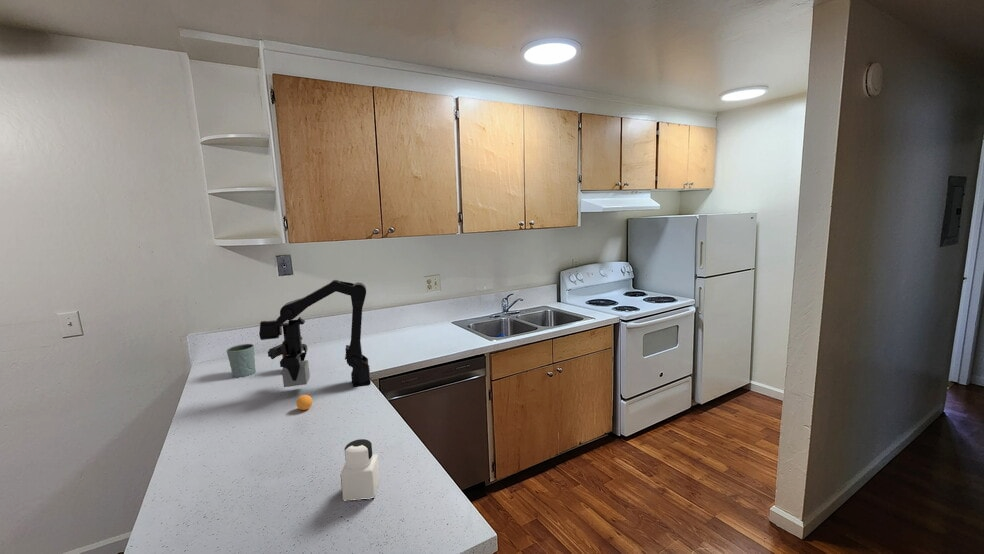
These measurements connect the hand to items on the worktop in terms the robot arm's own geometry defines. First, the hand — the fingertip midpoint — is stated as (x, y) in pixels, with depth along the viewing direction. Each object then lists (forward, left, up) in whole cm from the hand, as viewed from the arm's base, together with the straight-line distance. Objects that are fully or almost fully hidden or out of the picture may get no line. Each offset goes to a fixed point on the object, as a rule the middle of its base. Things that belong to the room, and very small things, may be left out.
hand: (296, 376), depth 158 cm
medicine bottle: (-26, +69, -6) cm, 74 cm away
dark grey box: (0, 0, -2) cm, 2 cm away
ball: (-5, +17, -4) cm, 18 cm away
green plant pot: (+27, -29, -6) cm, 40 cm away
